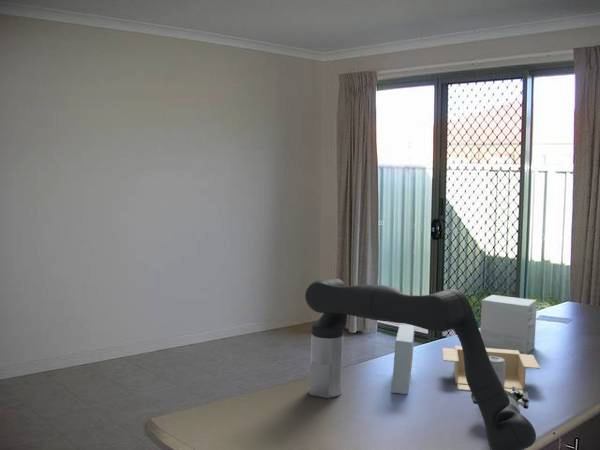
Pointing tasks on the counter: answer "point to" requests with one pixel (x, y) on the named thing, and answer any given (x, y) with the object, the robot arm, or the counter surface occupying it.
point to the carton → (512, 358)
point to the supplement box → (508, 323)
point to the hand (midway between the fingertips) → (497, 388)
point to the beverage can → (499, 367)
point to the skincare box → (403, 359)
